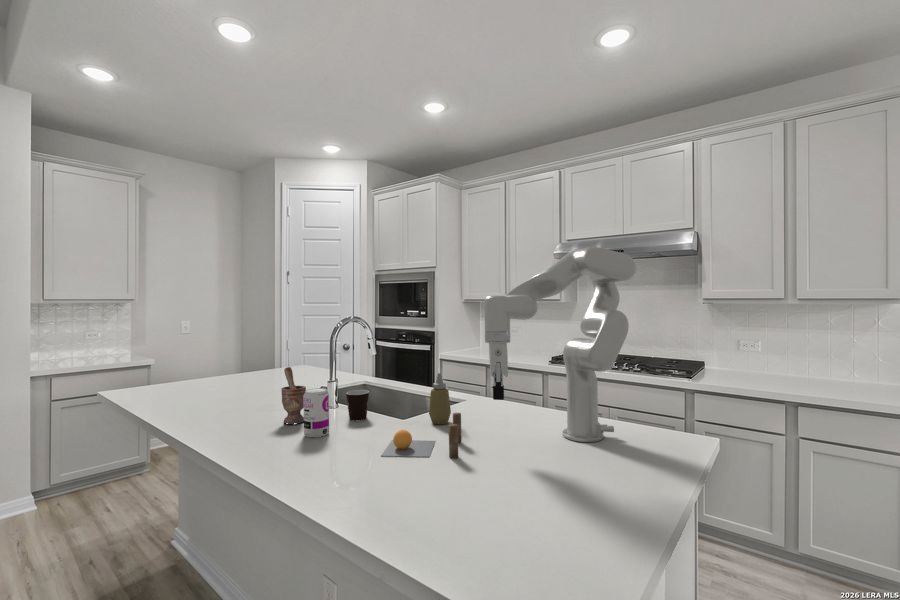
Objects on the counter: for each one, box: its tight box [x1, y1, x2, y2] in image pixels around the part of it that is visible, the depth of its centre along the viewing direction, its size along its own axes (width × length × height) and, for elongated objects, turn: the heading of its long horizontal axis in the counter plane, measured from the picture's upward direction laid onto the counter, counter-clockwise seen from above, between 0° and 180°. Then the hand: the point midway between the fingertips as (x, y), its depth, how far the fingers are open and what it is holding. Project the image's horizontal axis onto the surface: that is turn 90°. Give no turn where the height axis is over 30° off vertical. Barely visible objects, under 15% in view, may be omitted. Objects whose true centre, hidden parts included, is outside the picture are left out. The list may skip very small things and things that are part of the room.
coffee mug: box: [345, 389, 370, 422], centre depth 168 cm, size 12×9×10 cm
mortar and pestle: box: [281, 366, 307, 424], centre depth 163 cm, size 12×9×20 cm
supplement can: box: [303, 387, 330, 438], centre depth 147 cm, size 8×8×15 cm
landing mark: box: [380, 439, 436, 458], centre depth 131 cm, size 14×14×1 cm
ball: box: [392, 429, 413, 449], centre depth 131 cm, size 6×6×6 cm
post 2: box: [448, 423, 459, 460], centre depth 124 cm, size 3×3×9 cm
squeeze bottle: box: [428, 372, 452, 425], centre depth 159 cm, size 8×8×18 cm
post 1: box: [452, 412, 462, 445], centre depth 136 cm, size 3×3×9 cm
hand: (498, 399), depth 129 cm, fingers closed
